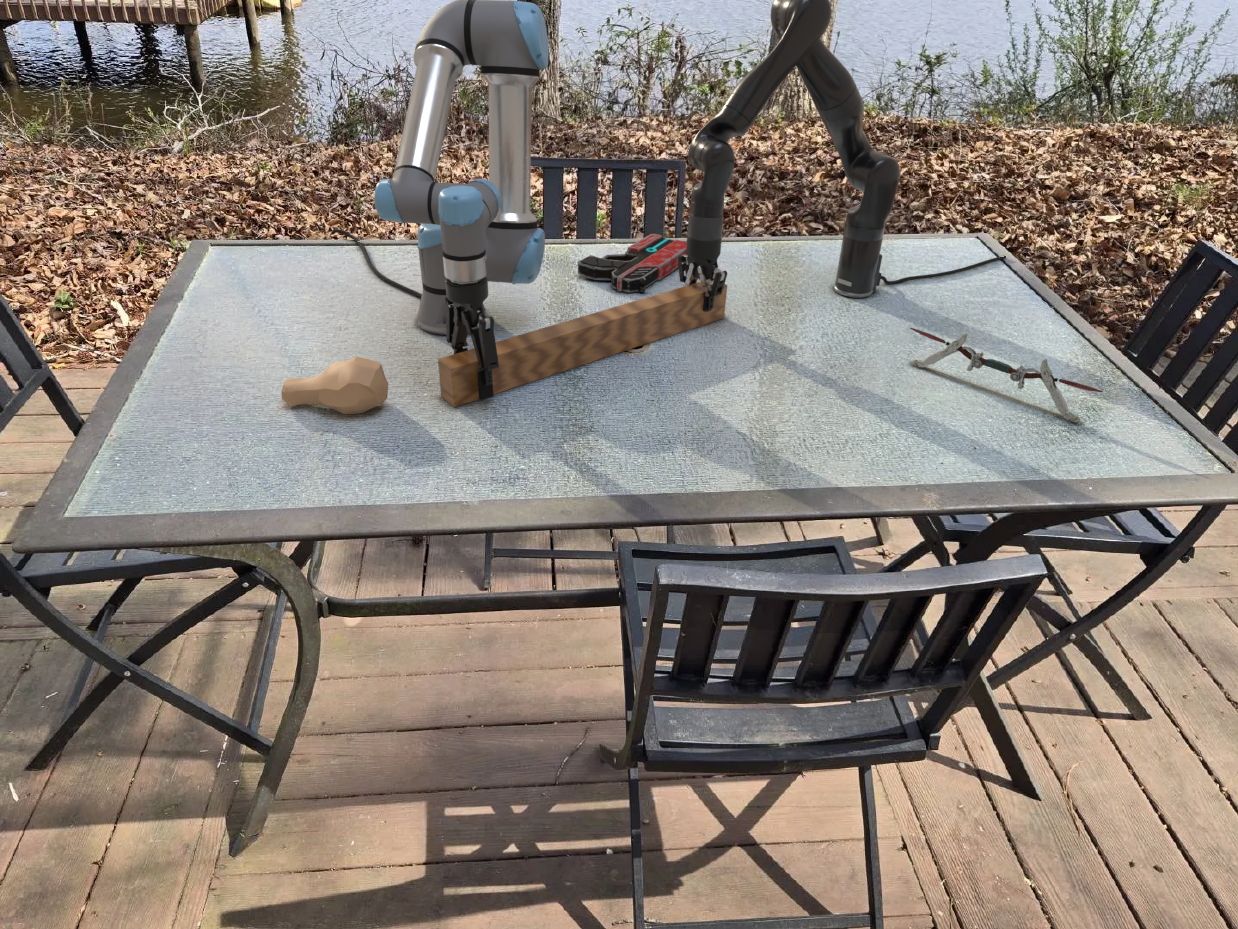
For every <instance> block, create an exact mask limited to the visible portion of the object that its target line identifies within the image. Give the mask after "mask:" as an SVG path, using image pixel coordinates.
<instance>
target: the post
mask: <svg viewBox="0 0 1238 929" xmlns="http://www.w3.org/2000/svg"><path fill="white" fill-rule="evenodd" d="M708 281H710V279H708V280H706V282H708ZM709 290H710V285H709ZM727 292H728V284H726V283H725V284H724V287H723V291H722V294H720V295H717V296H714V304H713V309H712V310H711V311H708V312H705V311H703V303H704V296H705V294H704V288H703V287H702V286H701V281H697V283H694V284H691V285H687V286H685V285H683V286H681V287H677V288H674V289H671V290H667V291H665V292H661V293H658V294H657V293H656V294H654V295H651V296H646V297H644V298H640V299H636V300H633V301H631V302H626V303H623V304H620V305H617V306H613V307H610V308H606V309H603V310H599V311H596V312H593V313H589V314H585V315H582V316H579V317H577V318H573V319H569V320H566V321H563V322H559V323H556V324H552V325H549V326H545V327H542V328H539V329H535V330H532V331H528V332H525V333H522V334H518V335H514V336H511V337H509V338H504V339H501V340H497V341H495V342H496V349H497V356H498V363H499V367H498V368H495V369H492V379H493V395H496V394H499V393H502V392H505V391H508V390H512V389H514V388H517V387H520V386H521V387H522V386H524V385H526V384H529V383H533V382H536V381H539V380H541V379H545V378H547V377H551V376H554V375H557V374H560V373H564V372H565V371H568V370H571V369H575V368H577V367H580V366H585V365H587V364H590V363H593V362H596V361H599V360H602V359H605V358H609V357H611V356H613V355H617V354H620V353H623V352H626V351H629V350H632V349H635V348H638V347H642V346H644V345H647V344H651V343H653V342H656V341H659V340H663V339H665V338H668V337H671V336H674V335H677V334H681V333H683V332H687V331H689V330H692V329H696V328H699V327H701V326H704V325H707V324H711V323H714V322H716V321H719V320H720V321H721V320H723V319H725V312H726V303H727ZM437 366H438V374H439V386H440V396H441V398H442V399H443V400H444V401H446V402H447V403H448V404H449V405H451V406H452V407H453V408H457V407H460V406H464V405H466V404H469V403H472V402H475V401H478V400H480V399H479V390H478V376H477V370H476V368H480V367H479V364H478V360H477V356H476V353H475V349H474V348H470V349H468V350H467V351H464V352H460V353H457V354H454V353H453V354H450V355H448V356H443V357H440V358H437Z"/></svg>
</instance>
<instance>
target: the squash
mask: <svg viewBox="0 0 1238 929" xmlns="http://www.w3.org/2000/svg"><path fill="white" fill-rule="evenodd" d="M388 394H389V382H388V379H387V377H386V374H385V371H384V369H383V365H382V363H381V362H379V361H376V360H373V359H370V358H366V357H360V356H355V357H353V358H349V359H346V360H342V361H335V362H332V363H331V364H329V365H328V366H327V367H326V368H325V369H324V370H323V371H322V372H321V373H319V374H317V375H315V376H310V377H302V378H297V377H295V378H293V377H290V378H286V379H284V381H283V385H282V387H281V400H282V401H283V402H284V403H285V404H286V405H287V406H289V407H291V406H298V405H311V404H314V405H321V406H326V407H328V408H330V409H332V410H334V411H336V412H338V413H341V414H343V415H354V414H355V415H356V414H364V413H365V412H368V411H370V410H372V409H374V408H376V407H378V406H380V405H382V404H383V403H384V402H385V401H386V400H387V399H388Z"/></svg>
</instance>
